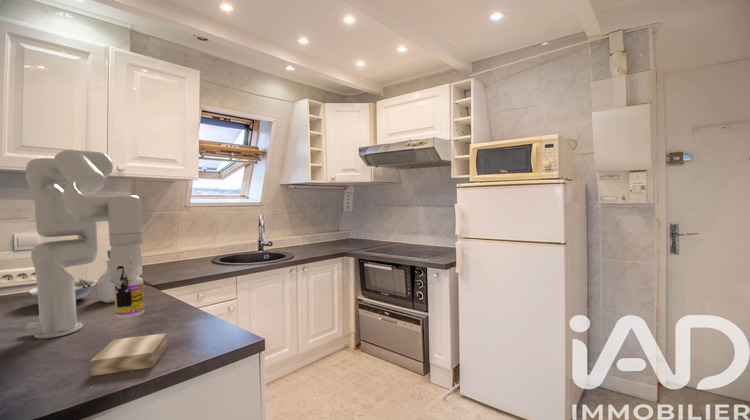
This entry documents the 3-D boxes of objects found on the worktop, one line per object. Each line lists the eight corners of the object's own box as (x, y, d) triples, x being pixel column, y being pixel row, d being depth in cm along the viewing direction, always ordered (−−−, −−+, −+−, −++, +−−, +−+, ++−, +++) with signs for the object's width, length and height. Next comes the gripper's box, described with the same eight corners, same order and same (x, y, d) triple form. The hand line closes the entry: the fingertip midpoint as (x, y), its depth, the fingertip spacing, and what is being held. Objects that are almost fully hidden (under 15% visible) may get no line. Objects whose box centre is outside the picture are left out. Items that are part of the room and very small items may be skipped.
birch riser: (91, 375, 90) (90, 360, 90) (114, 352, 104) (113, 339, 103) (152, 367, 94) (152, 352, 94) (167, 345, 108) (167, 333, 107)
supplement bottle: (130, 319, 94) (127, 272, 94) (109, 318, 96) (106, 272, 95) (150, 311, 101) (148, 267, 100) (131, 310, 102) (128, 266, 102)
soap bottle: (130, 298, 160) (127, 249, 158) (105, 304, 151) (102, 252, 150) (121, 295, 165) (118, 247, 164) (96, 301, 157) (93, 251, 156)
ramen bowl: (29, 302, 157) (28, 284, 157) (94, 291, 173) (93, 275, 173) (29, 315, 139) (27, 295, 139) (101, 302, 155) (100, 283, 155)
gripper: (123, 236, 105) (126, 295, 105) (95, 244, 88) (99, 314, 89) (151, 235, 107) (154, 293, 107) (129, 242, 90) (133, 310, 91)
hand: (129, 302), depth 98 cm, fingers closed on supplement bottle, 6 cm apart
